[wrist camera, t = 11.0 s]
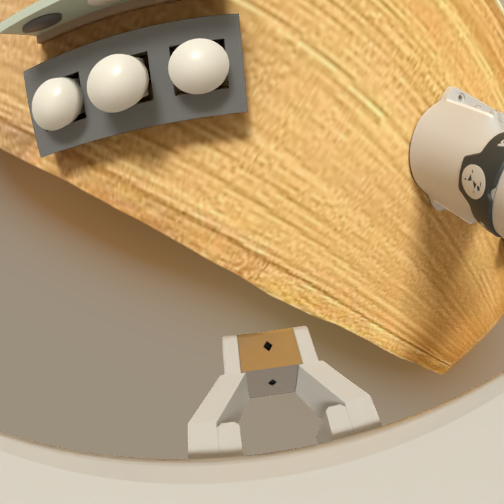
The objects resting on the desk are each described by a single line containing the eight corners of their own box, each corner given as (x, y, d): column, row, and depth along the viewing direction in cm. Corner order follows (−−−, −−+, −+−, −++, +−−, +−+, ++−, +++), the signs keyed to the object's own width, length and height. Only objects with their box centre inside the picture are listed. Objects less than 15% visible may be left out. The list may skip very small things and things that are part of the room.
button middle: (150, 50, 22) (140, 47, 18) (157, 100, 25) (148, 104, 21) (99, 64, 22) (83, 64, 18) (107, 112, 25) (92, 119, 21)
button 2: (223, 40, 24) (226, 35, 20) (228, 87, 27) (231, 90, 23) (170, 48, 23) (165, 43, 20) (176, 95, 26) (172, 98, 23)
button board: (235, 18, 23) (238, 13, 20) (243, 108, 28) (247, 111, 26) (36, 70, 21) (23, 71, 19) (52, 149, 27) (40, 157, 24)
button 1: (89, 69, 23) (71, 70, 19) (96, 114, 26) (80, 121, 22) (48, 84, 22) (27, 89, 19) (56, 127, 25) (37, 137, 22)
